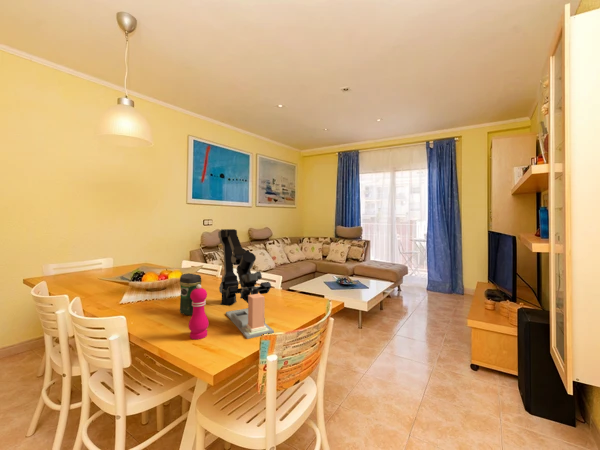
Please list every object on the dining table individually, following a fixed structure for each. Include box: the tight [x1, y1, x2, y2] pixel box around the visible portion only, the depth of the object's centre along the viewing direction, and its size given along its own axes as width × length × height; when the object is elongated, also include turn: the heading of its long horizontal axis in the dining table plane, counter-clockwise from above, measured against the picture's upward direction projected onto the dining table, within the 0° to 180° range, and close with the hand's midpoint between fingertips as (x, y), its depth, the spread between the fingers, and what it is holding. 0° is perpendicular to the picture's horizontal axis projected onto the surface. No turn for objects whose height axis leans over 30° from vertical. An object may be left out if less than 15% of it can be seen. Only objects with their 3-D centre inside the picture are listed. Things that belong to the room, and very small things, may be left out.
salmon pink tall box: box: [246, 293, 266, 332], centre depth 109 cm, size 6×6×13 cm
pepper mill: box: [188, 284, 210, 340], centre depth 104 cm, size 7×7×20 cm
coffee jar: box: [179, 273, 202, 316], centre depth 129 cm, size 10×8×19 cm
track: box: [225, 307, 275, 340], centre depth 118 cm, size 30×11×3 cm, turn 30°
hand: (253, 307), depth 111 cm, fingers closed
